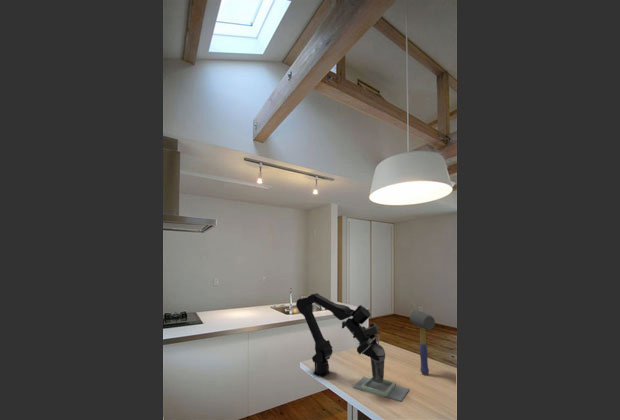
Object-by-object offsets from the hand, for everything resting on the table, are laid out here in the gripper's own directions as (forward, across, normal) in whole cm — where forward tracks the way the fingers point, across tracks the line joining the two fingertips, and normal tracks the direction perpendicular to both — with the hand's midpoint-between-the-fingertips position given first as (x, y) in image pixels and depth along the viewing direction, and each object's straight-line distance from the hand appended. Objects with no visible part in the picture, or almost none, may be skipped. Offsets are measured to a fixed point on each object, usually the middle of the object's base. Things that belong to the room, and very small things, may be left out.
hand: (380, 357), depth 132 cm
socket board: (+9, 0, +10) cm, 13 cm away
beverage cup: (+6, 0, +8) cm, 10 cm away
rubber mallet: (+22, +24, -3) cm, 32 cm away
